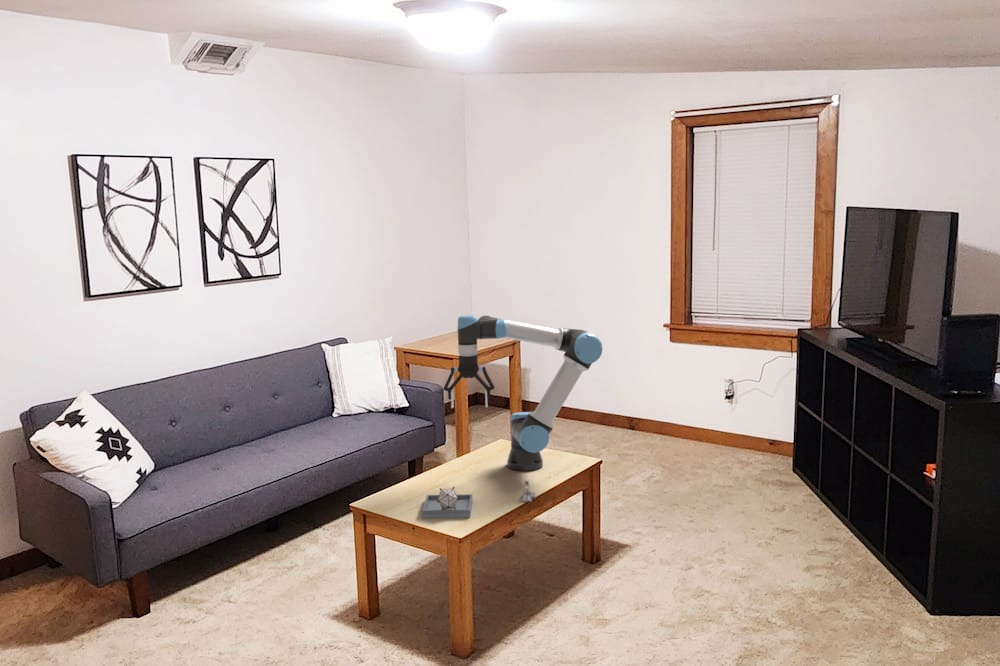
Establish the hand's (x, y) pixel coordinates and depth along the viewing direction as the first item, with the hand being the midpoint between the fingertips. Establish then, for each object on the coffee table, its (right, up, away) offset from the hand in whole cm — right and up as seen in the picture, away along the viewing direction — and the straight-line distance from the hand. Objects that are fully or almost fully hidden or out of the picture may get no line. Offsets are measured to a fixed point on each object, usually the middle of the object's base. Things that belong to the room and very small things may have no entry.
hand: (469, 407), depth 331 cm
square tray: (-7, -36, -26) cm, 45 cm away
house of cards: (+25, -34, -18) cm, 46 cm away
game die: (-7, -33, -27) cm, 43 cm away
